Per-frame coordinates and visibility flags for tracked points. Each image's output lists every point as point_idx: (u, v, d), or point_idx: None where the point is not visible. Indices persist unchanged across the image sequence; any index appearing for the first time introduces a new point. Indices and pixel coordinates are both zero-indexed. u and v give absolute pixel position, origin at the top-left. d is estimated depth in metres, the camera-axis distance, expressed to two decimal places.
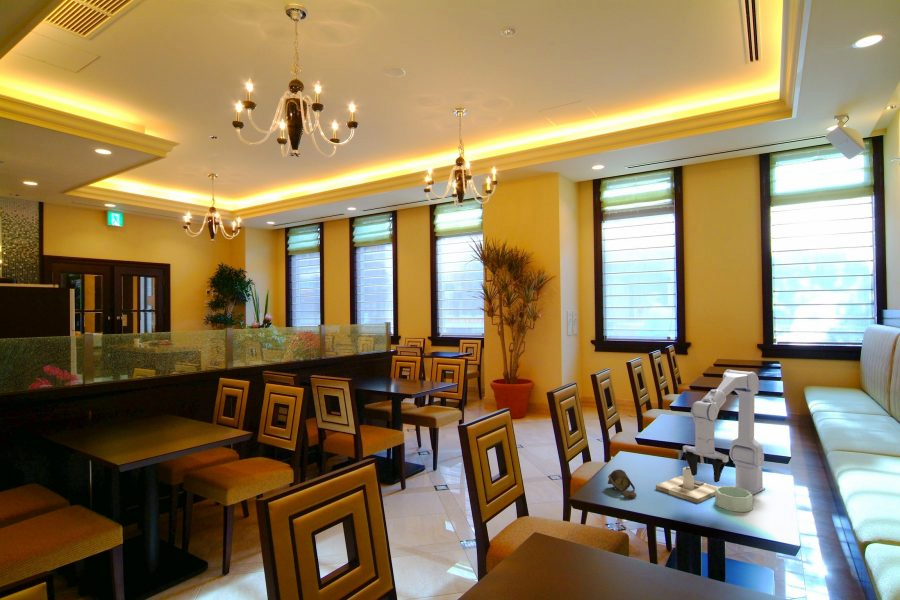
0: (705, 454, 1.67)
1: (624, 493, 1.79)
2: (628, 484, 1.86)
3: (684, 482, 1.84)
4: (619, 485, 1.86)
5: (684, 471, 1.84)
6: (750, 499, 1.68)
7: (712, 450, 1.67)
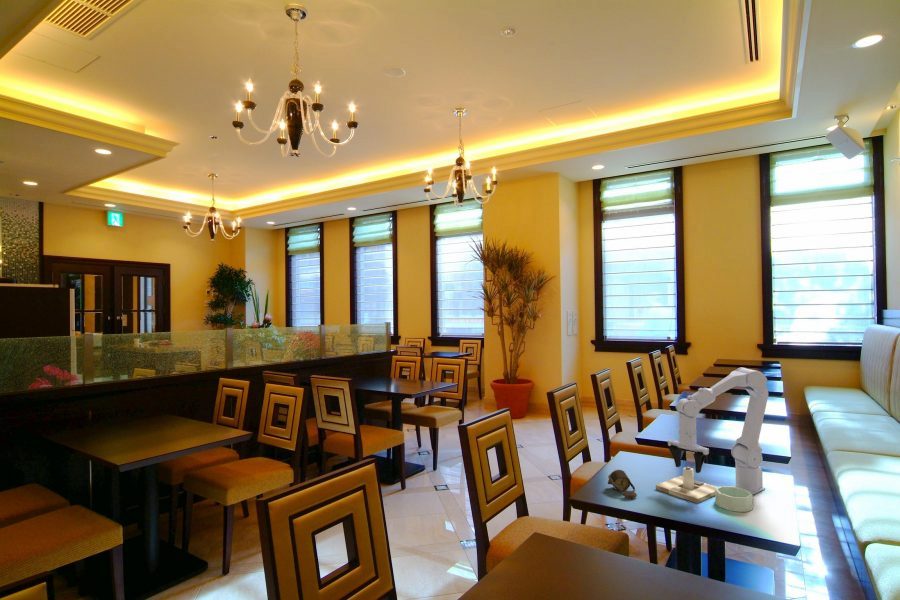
0: (688, 447, 1.82)
1: (624, 493, 1.78)
2: (628, 484, 1.86)
3: (684, 482, 1.84)
4: (619, 485, 1.86)
5: (684, 471, 1.84)
6: (750, 499, 1.68)
7: (694, 443, 1.82)
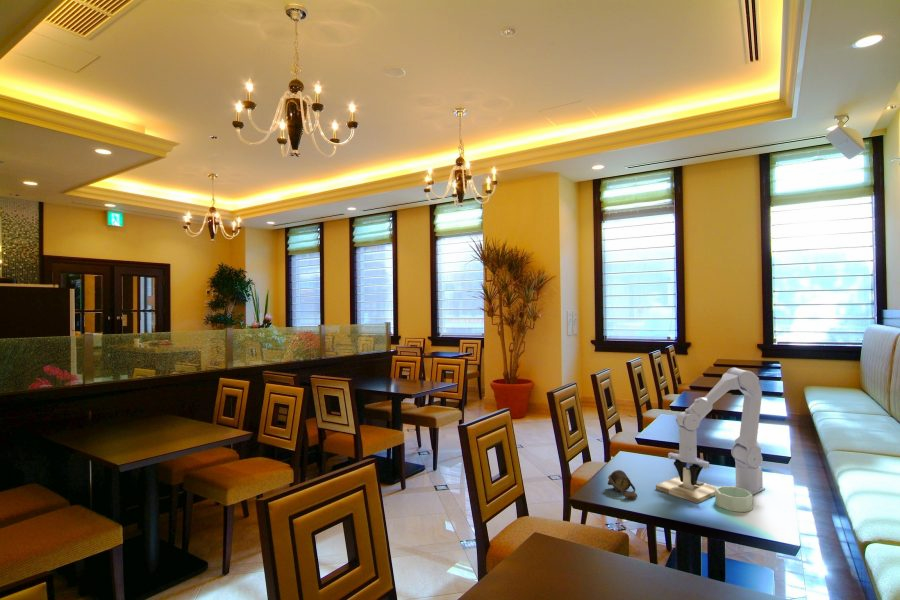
0: (688, 461, 1.82)
1: (625, 494, 1.78)
2: (628, 485, 1.85)
3: (684, 482, 1.84)
4: (619, 486, 1.85)
5: (684, 471, 1.84)
6: (750, 499, 1.68)
7: (694, 457, 1.82)
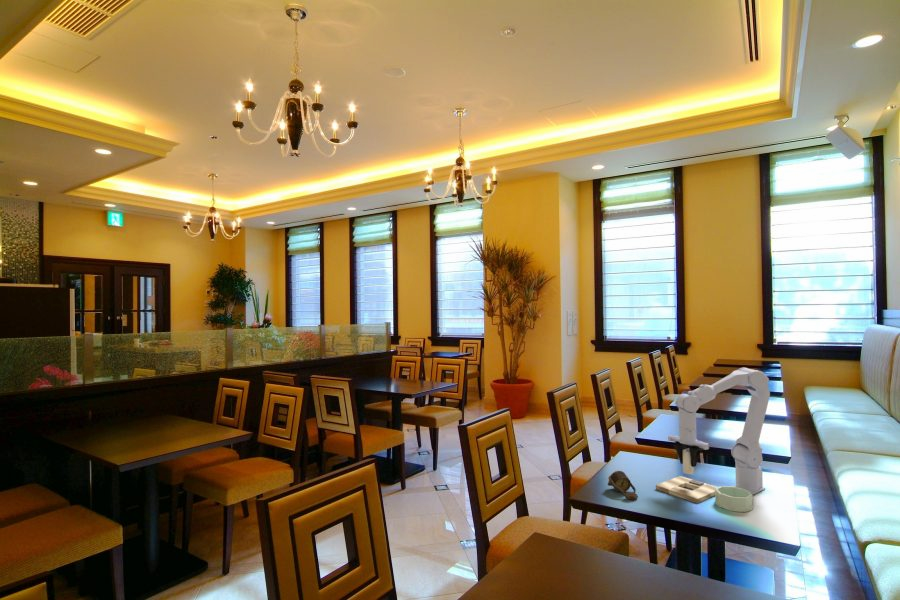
0: (688, 442, 1.82)
1: (626, 495, 1.77)
2: (628, 485, 1.85)
3: (684, 464, 1.84)
4: (619, 487, 1.85)
5: (683, 453, 1.84)
6: (750, 499, 1.68)
7: (694, 439, 1.82)
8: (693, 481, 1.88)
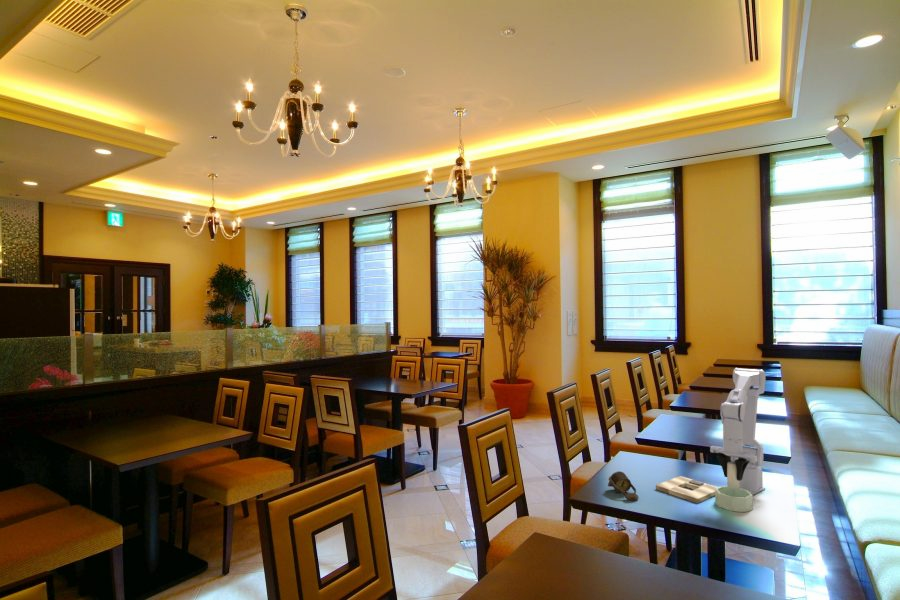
0: (733, 454, 1.69)
1: (627, 495, 1.76)
2: (629, 486, 1.84)
3: (729, 477, 1.71)
4: (620, 487, 1.84)
5: (728, 465, 1.71)
6: (750, 499, 1.68)
7: (740, 450, 1.69)
8: (693, 481, 1.88)
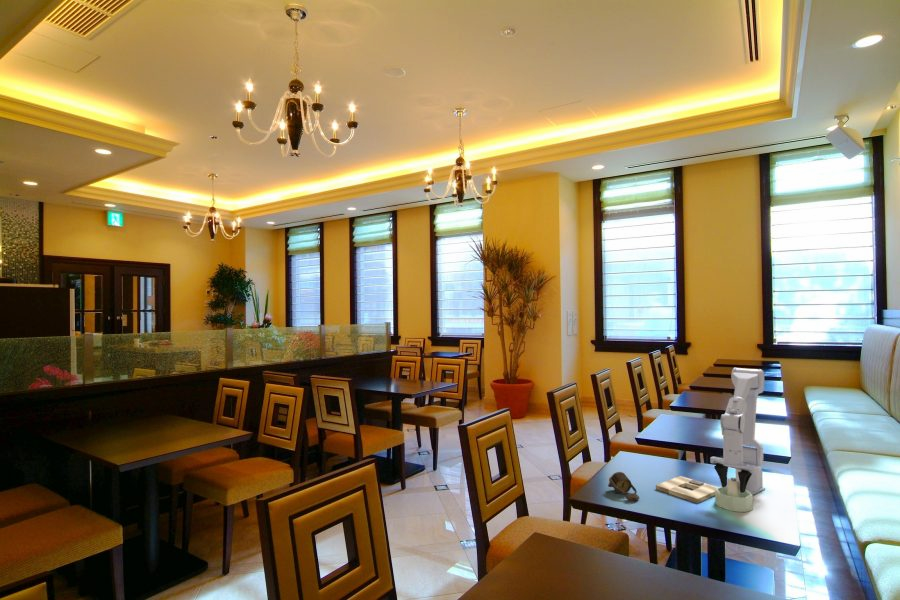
0: (734, 466, 1.69)
1: (627, 496, 1.76)
2: (629, 486, 1.84)
3: (729, 494, 1.71)
4: (620, 488, 1.83)
5: (729, 482, 1.71)
6: (750, 499, 1.68)
7: (740, 462, 1.69)
8: (693, 481, 1.88)
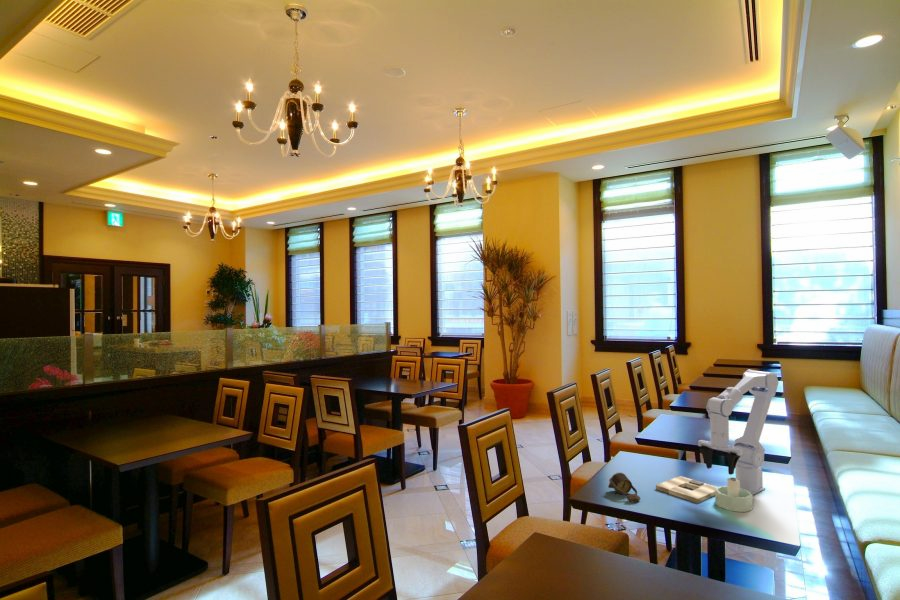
0: (720, 448, 1.75)
1: (629, 497, 1.75)
2: (629, 487, 1.83)
3: (729, 494, 1.71)
4: (621, 489, 1.83)
5: (729, 482, 1.71)
6: (750, 499, 1.68)
7: (727, 444, 1.76)
8: (693, 481, 1.88)
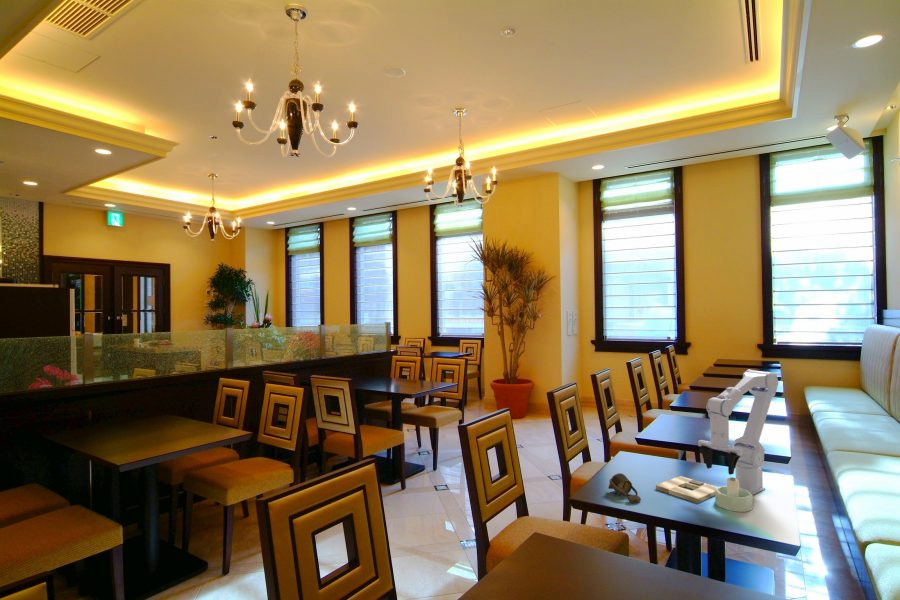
0: (720, 448, 1.75)
1: (629, 498, 1.74)
2: (629, 488, 1.82)
3: (729, 494, 1.71)
4: (621, 489, 1.82)
5: (728, 482, 1.71)
6: (750, 499, 1.68)
7: (727, 444, 1.76)
8: (693, 481, 1.88)
